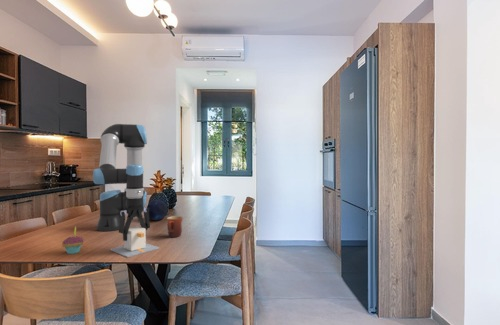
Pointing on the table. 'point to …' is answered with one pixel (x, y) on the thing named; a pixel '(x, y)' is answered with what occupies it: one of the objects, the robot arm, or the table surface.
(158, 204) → the decorative orb
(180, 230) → the mug
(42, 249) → the table surface
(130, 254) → the post base
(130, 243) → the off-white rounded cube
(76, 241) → the cupcake
